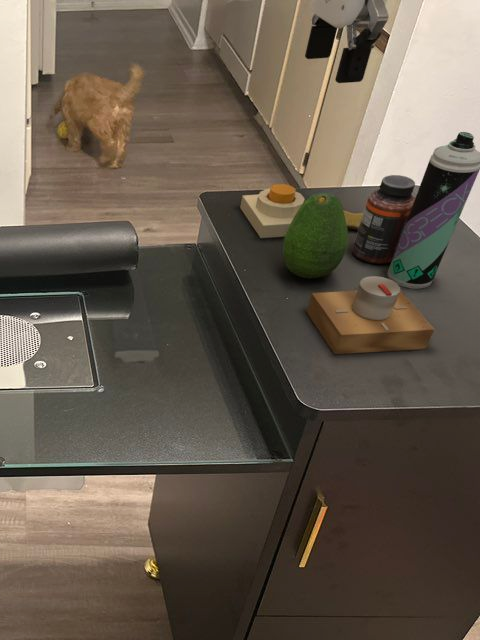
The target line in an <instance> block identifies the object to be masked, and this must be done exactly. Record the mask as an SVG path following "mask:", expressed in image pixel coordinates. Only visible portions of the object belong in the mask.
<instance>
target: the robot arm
mask: <svg viewBox="0 0 480 640" xmlns="http://www.w3.org/2000/svg"><path fill="white" fill-rule="evenodd" d="M310 2H311V3H310V9H311V11H312V12H313V16H312V17H311V27H310V28H311V29H310V32H309V37H308V41H307V44H306V50H305V54H304V57H305V58H306V59H307V60H317V59H328V58H330V56H331V54H332V51H333V47H334V42H335V39H336V35H337V30H338V29H343V28H345V27H346V40H347V41H346V43H347V47H343V49H342V52H341V56H340V60H339V63H338V67H337V72H336V75H335V77H334V78H335V79H334V80H335V82H336V83H337V84H346V83H347V84H349V83H360V82H362V81H363V80H364V77H365V73H366V70H367V67H368V63H369V60H370V56H371V53H372V49H374V48H375V47H376V43H377V41H378V40H379V39H380V38H381V35H382V31H383V30H384V28H385V25H386V24H387V22H388V21H389V18H390V17H389V12H388V10H387V6H386V5H387V0H311V1H310ZM357 30H361V31H360V33H359V34H357V33H358V31H357Z"/></svg>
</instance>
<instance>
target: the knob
mask: <svg viewBox="0 0 480 640" xmlns="http://www.w3.org/2000/svg"><path fill="white" fill-rule="evenodd" d="M356 290H357V292H356V295H355V298H354V301H353V304H352V309H353V311H354V312H355V313H356V314H357V315H359V316H361V317H363V318H366V319H371V320H383V319H386V318H388V317H389V316H390V315H391V313H392V311H393V308H394V305H395V303H396V300H397V298H398V295H399V293H400V290H401V286H400V285H398V284H397V283H395V282H394V281H392V280H390V279H389V278H388V277H383V276H377V275H375V276H374V275H373V276H366V277H363V278H362V279H361V280H360V281H359V284H358V287H357V289H356Z"/></svg>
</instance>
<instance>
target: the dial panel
mask: <svg viewBox="0 0 480 640" xmlns="http://www.w3.org/2000/svg"><path fill="white" fill-rule="evenodd" d="M356 292H357V289H354V290H343V291H342V290H341V291H325V292H324V291H323V292H312V293H311V296H310V300H309V303H308V305H307V308H306V309H307V310H306V314H307V315H308V317H309V318H310V320H311V322H312V323H313V324H314V326H315V327H316V329H317V330H318V332H319V333H320V335H321V336H322V338H323V340H324V341H325V342H326V344H327V345H328V347H329V348H330V349H331V351H332V352H333V354H334V355H347V354H363V353H378V352H379V353H382V352H395V351H396V352H397V351H413V350H414V351H415V350H426V349H427V347H428V345H429V343H430V341H431V338H432V336H433V334H434V332H435V328H434V327H433V325H431V323H430V322H429V321H428V320H427V319H426V318H425V317H424V315H423V314H422V313H421V312H420V311H419V310H418V308H416V306H415V305H414V304H413V302H412V301H410V299H409V298H408V297H407V296H406V295H405V293H403V291H402V289H400V293H399V295H398V298H397V300H396V303H395V305H394V308H393V311H392V313H391V315H390V316H389V317H388V318H386V319H383V320H371V319H366V318H363V317H361V316H359V315H357V314H356V313H355V312H354V311H353V309H352V304H353V301H354V298H355V295H356Z"/></svg>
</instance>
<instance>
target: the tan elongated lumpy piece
mask: <svg viewBox="0 0 480 640" xmlns="http://www.w3.org/2000/svg"><path fill="white" fill-rule="evenodd" d="M343 211H344V216H345V220H346V224H347V229H352V230H356V231H358V229H359V226H360V223H361V220H362V217H363V213H364V212H360V213H359V212H357V213H354V212H350V211H347V210H344V209H343Z"/></svg>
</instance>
